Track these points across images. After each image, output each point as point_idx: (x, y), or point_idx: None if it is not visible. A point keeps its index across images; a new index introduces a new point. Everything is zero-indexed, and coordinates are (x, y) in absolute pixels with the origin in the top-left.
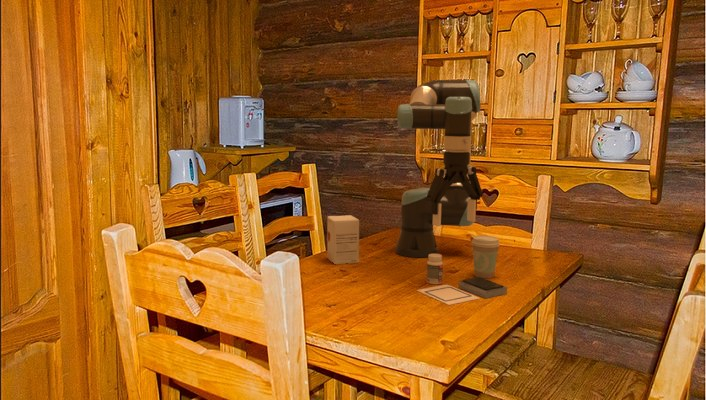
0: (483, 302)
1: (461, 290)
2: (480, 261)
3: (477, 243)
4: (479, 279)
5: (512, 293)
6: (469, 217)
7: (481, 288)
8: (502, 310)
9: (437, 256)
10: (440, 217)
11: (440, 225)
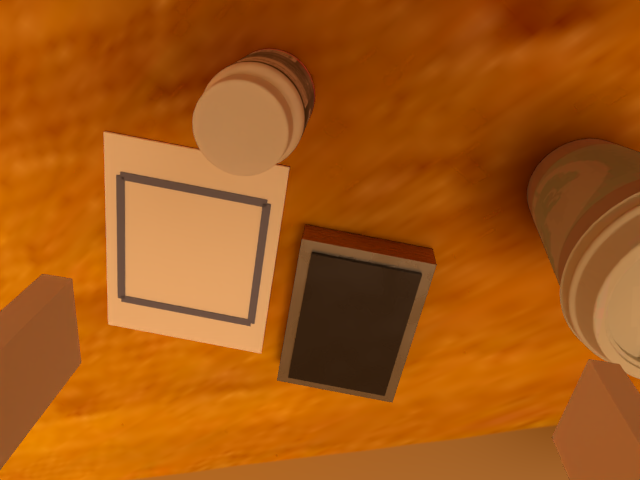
0: (240, 376)
1: (273, 262)
2: (544, 242)
3: (577, 284)
4: (384, 295)
5: (414, 390)
6: (591, 419)
7: (292, 354)
8: (231, 442)
9: (227, 164)
10: (17, 434)
11: (74, 366)
